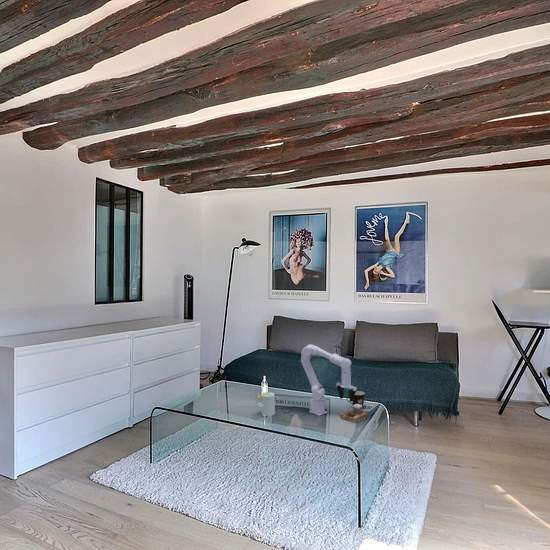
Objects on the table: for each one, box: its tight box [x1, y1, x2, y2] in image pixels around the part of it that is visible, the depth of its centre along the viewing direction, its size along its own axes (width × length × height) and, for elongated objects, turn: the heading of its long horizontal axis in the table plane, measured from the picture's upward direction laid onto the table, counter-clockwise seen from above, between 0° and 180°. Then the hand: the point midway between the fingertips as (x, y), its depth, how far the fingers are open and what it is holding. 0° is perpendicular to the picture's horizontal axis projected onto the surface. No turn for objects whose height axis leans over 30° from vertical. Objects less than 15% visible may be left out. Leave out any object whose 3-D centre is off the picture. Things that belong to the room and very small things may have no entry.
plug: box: [352, 404, 363, 414], centre depth 261 cm, size 4×4×7 cm
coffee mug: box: [346, 390, 365, 410], centre depth 276 cm, size 12×9×10 cm
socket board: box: [340, 408, 370, 424], centre depth 259 cm, size 11×14×3 cm
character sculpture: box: [256, 391, 277, 415], centre depth 267 cm, size 20×12×13 cm, turn 145°
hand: (346, 399), depth 262 cm, fingers open, 7 cm apart
